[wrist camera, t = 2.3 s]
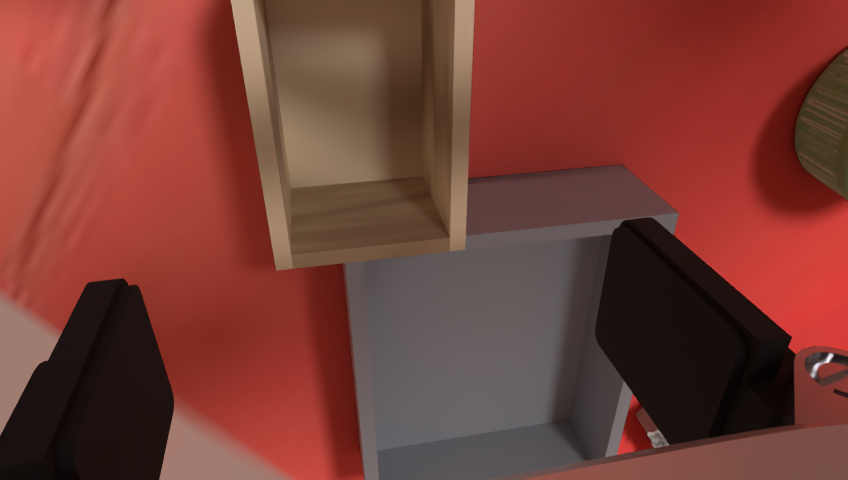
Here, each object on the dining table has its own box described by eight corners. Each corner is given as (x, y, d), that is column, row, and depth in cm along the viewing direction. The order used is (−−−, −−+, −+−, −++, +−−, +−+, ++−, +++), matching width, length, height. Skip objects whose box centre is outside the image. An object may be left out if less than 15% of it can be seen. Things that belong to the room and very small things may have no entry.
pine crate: (240, -56, 21) (224, -37, 16) (433, -60, 22) (476, -43, 17) (279, 195, 26) (276, 270, 21) (432, 181, 27) (465, 249, 22)
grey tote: (335, 190, 26) (343, 248, 22) (622, 164, 28) (679, 213, 24) (360, 452, 36) (369, 528, 32) (574, 417, 38) (609, 483, 34)
